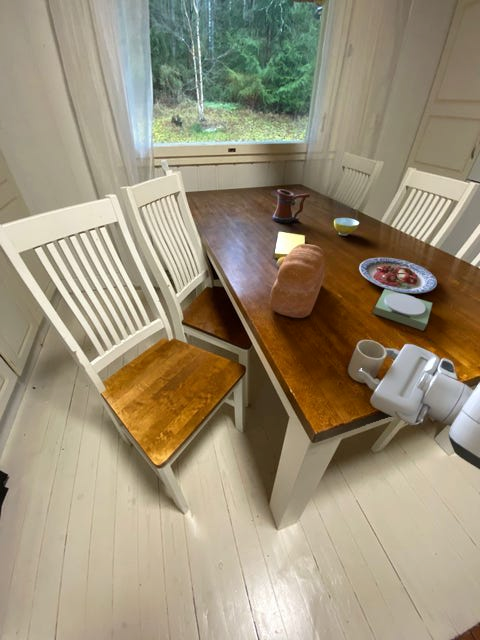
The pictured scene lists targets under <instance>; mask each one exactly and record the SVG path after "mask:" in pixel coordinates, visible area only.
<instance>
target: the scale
mask: <svg viewBox="0 0 480 640" xmlns="http://www.w3.org/2000/svg"><path fill="white" fill-rule="evenodd" d="M432 307H433V302H430V301H427V300H423V299H420V298H418V297H417V298H416V297H415V296H412V295H409V294H407V293H402V292H396V291H392V290H389V289H386V288H384V290H383V291H382V294H381V295H380V296H379V299H378V301H377V303H376V305H375V306H374V309H373V311H372V314H374V315H376V316H380V317H383V318H385V319H388V320H390V321H394V322H397V323H399V324H402V325H405V326H409V327H411V328H415V329H417V330H420V331H424V330H425V329H426V328H427V326H428V322H429V318H430V315H431V311H432Z"/></svg>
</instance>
